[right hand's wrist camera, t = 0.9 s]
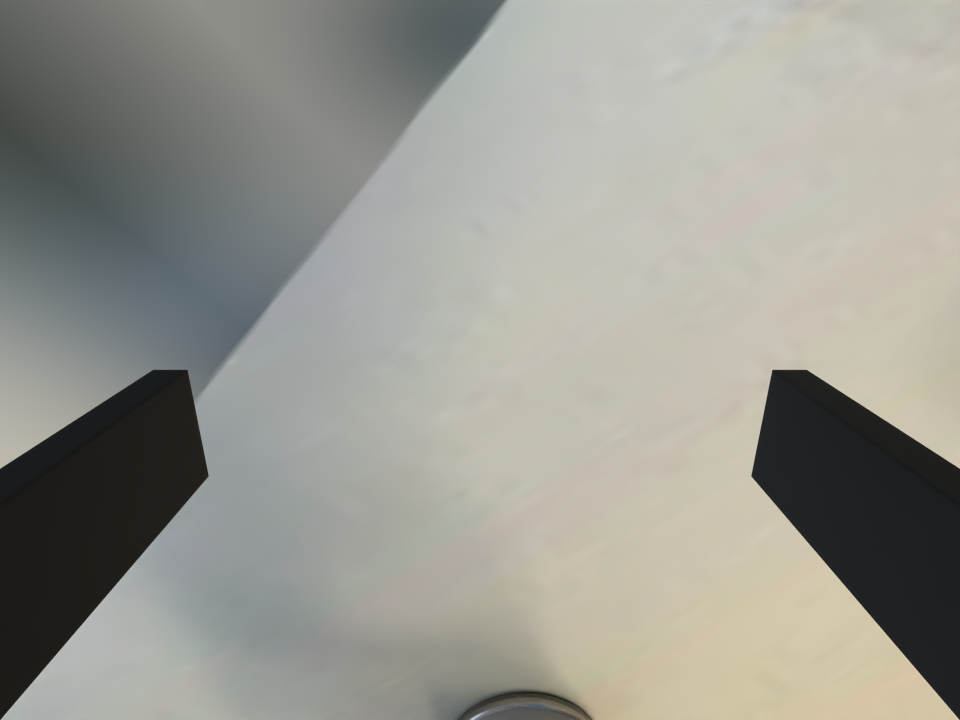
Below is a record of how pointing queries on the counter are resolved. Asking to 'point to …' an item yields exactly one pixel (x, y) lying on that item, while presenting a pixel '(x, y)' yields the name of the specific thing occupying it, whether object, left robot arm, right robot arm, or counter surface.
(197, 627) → the counter surface
